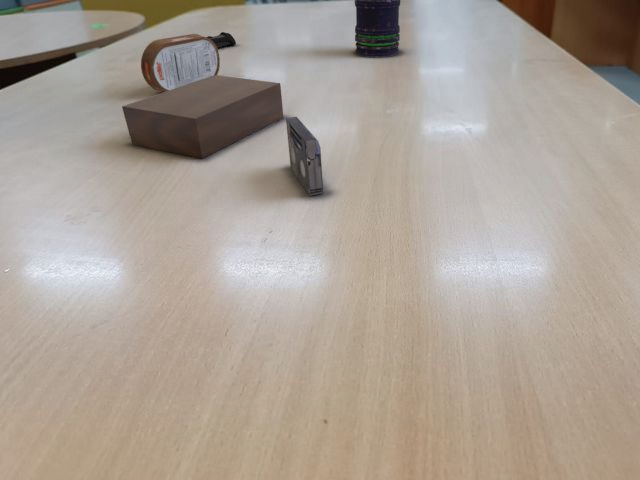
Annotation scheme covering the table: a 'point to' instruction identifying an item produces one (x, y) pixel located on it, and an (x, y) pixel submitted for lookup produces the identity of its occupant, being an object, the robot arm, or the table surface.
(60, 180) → the table surface
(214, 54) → the tin
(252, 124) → the block
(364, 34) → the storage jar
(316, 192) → the mini dv tape
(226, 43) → the electric trimmer
